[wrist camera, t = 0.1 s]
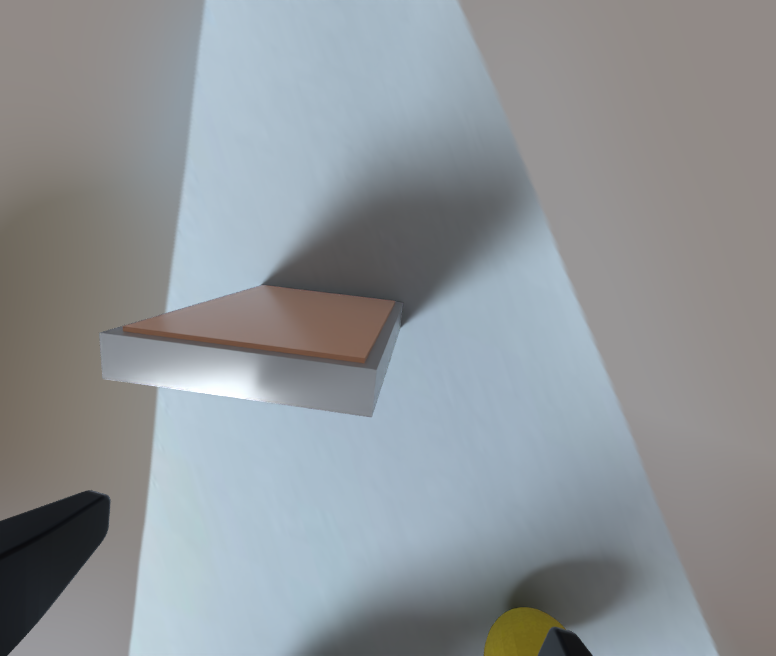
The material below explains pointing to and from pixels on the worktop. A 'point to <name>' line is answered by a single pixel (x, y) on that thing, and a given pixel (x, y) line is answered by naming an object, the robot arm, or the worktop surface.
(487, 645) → the lemon
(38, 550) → the robot arm
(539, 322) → the worktop surface
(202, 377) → the tile
